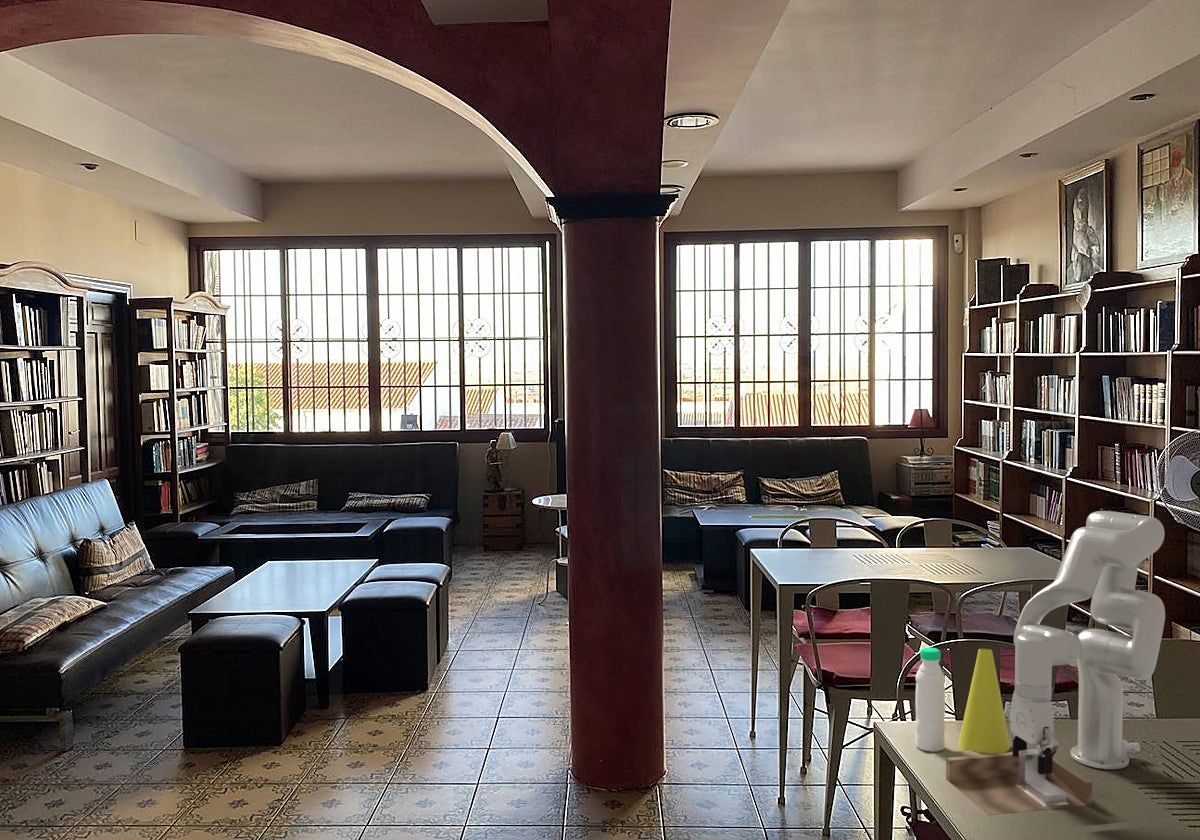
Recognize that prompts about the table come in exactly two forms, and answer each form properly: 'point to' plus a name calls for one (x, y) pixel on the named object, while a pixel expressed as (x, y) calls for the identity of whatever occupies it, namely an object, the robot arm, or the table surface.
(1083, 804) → the tray
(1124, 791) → the table surface
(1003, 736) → the cone
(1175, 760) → the table surface
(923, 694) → the water bottle
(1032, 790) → the bracket
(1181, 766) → the table surface
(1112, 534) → the robot arm
